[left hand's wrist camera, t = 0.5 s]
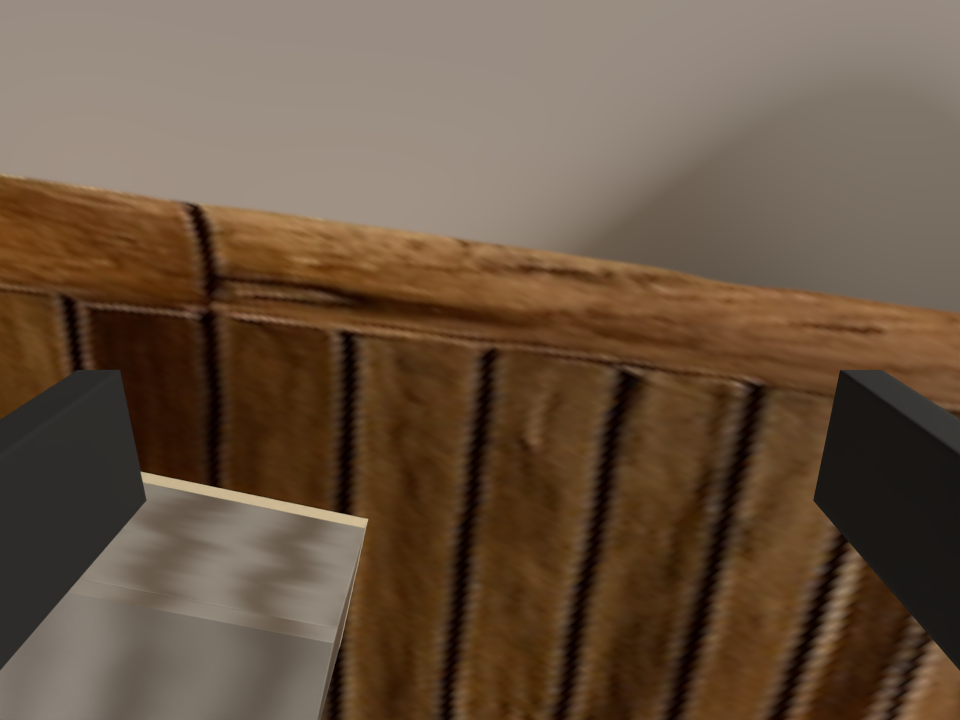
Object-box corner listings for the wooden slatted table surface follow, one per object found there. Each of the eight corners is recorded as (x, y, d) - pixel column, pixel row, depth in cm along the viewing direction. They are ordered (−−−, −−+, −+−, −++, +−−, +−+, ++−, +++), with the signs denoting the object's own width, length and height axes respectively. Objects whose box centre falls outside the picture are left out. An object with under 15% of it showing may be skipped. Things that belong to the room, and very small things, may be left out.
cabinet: (51, 582, 47) (-73, 717, 36) (54, 453, 43) (-83, 563, 33) (341, 638, 49) (303, 782, 38) (368, 519, 45) (333, 642, 35)
